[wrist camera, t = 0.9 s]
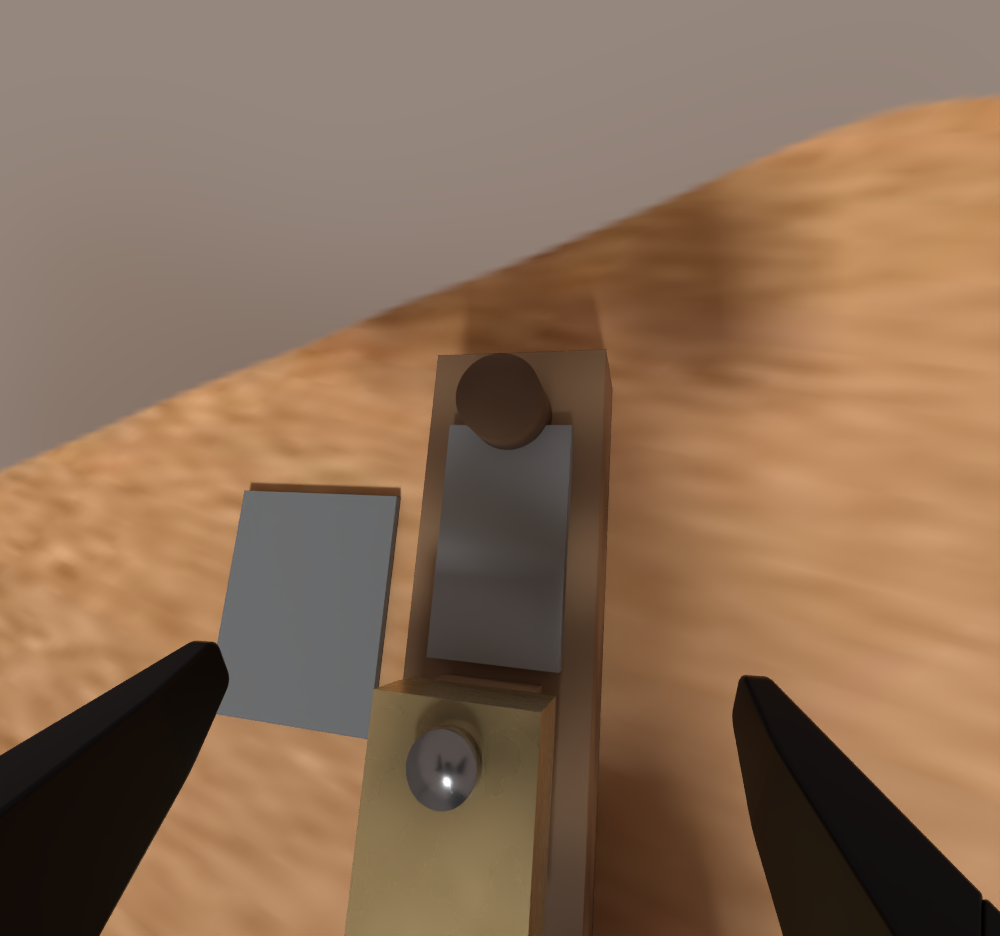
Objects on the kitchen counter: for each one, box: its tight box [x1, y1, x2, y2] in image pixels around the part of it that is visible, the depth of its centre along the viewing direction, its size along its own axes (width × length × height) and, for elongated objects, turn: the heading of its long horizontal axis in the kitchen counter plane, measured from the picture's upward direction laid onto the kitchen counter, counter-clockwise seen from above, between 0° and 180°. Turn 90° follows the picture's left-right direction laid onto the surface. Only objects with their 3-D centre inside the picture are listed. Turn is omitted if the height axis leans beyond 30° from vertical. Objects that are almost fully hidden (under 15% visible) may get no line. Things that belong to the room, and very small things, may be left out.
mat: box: [216, 491, 400, 739], centre depth 25 cm, size 10×8×1 cm
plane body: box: [403, 350, 612, 936], centre depth 19 cm, size 22×6×6 cm, turn 176°
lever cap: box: [344, 677, 556, 936], centre depth 14 cm, size 7×5×3 cm, turn 176°
